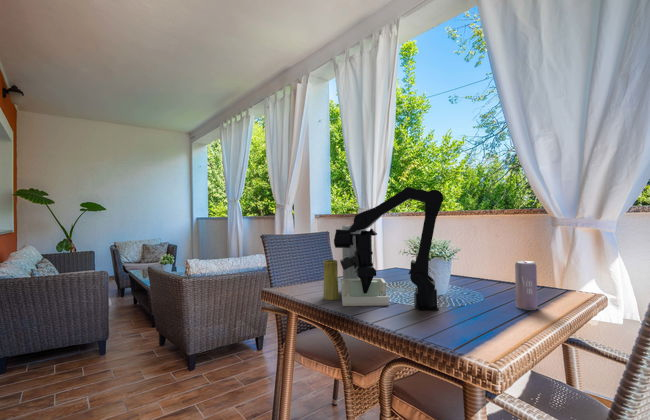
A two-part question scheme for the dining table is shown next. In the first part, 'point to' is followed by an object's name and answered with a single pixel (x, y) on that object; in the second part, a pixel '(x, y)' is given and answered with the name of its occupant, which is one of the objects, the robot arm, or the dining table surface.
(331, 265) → the vase
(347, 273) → the planter
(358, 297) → the cabinet
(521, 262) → the beverage can
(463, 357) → the dining table surface
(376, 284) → the door
